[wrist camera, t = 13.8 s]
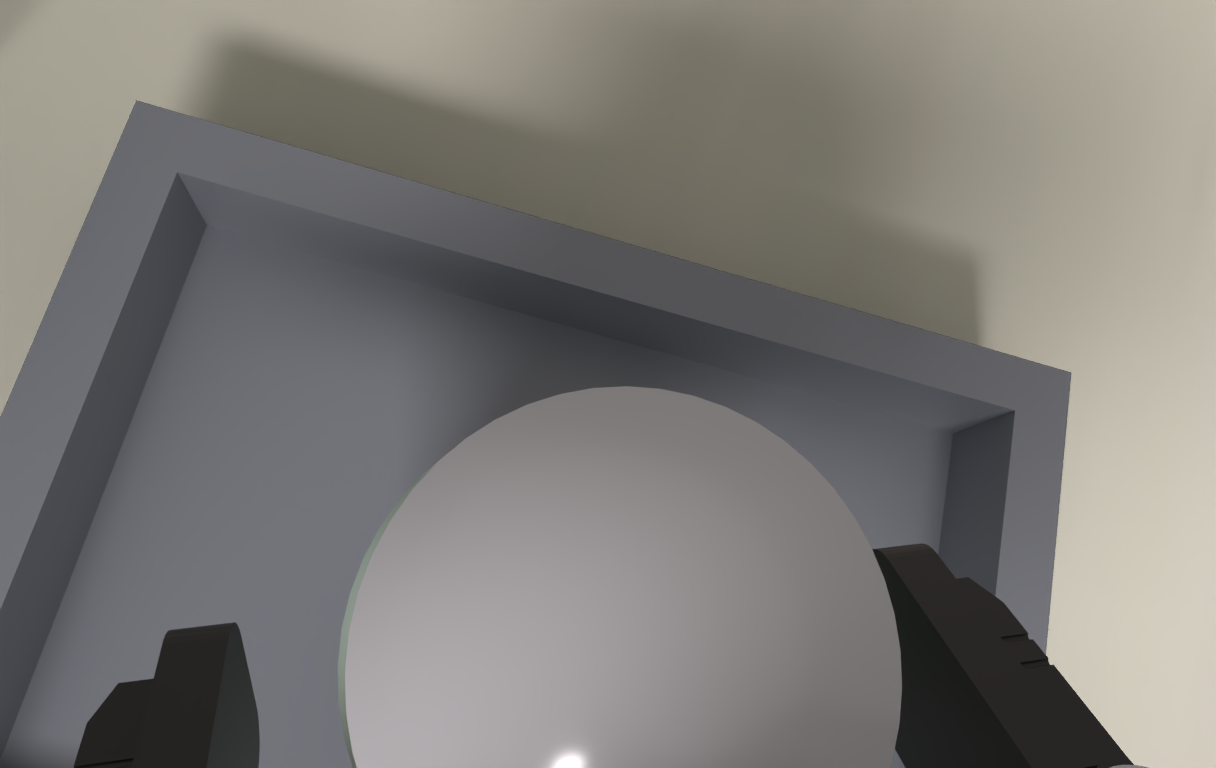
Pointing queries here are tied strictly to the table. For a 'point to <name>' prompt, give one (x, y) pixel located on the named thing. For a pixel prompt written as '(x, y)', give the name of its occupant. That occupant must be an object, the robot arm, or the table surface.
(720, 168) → the table surface
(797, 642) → the shaker
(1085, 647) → the table surface
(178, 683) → the robot arm
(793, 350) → the tray
